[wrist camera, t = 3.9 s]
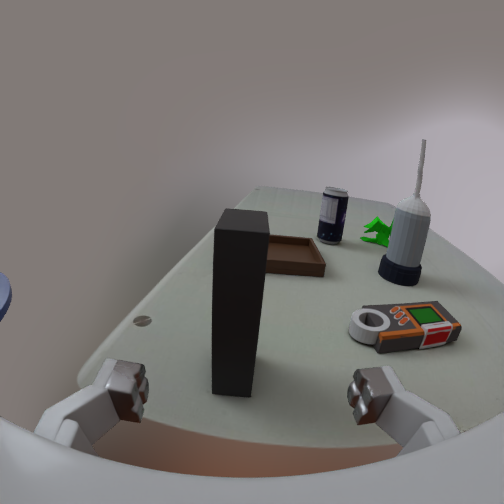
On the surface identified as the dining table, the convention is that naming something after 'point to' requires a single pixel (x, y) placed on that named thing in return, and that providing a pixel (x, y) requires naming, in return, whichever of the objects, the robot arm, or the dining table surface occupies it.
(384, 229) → the figurine
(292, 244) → the tray
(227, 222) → the tall dark grey prism
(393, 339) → the electronic device
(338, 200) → the beverage can
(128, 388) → the robot arm
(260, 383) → the dining table surface
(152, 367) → the dining table surface
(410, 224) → the humidifier
